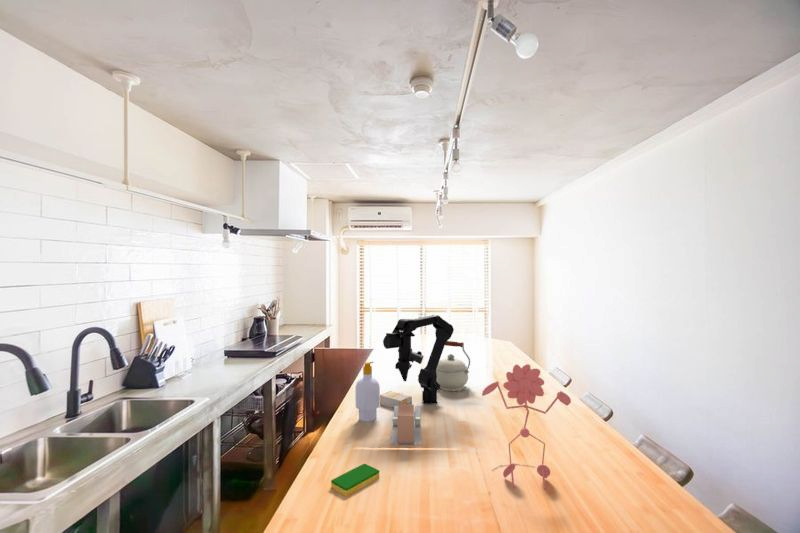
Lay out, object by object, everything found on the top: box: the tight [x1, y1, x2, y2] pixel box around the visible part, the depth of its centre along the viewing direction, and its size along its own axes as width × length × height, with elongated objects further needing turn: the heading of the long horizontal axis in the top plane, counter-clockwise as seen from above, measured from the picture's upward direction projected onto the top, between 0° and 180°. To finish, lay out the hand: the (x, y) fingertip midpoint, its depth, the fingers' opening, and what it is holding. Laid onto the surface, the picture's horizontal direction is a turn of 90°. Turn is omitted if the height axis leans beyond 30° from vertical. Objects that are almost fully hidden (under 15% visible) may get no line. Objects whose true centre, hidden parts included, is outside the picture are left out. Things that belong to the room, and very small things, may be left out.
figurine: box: [481, 363, 572, 490], centre depth 124 cm, size 15×26×35 cm, turn 84°
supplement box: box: [380, 390, 413, 409], centre depth 187 cm, size 8×5×13 cm
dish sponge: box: [330, 463, 380, 496], centre depth 121 cm, size 7×14×2 cm, turn 138°
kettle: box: [436, 340, 471, 392], centre depth 216 cm, size 25×18×25 cm
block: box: [398, 404, 415, 443], centre depth 152 cm, size 6×12×10 cm, turn 178°
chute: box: [390, 405, 423, 446], centre depth 162 cm, size 11×34×3 cm, turn 178°
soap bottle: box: [355, 361, 381, 422], centre depth 171 cm, size 10×10×24 cm
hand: (405, 381), depth 183 cm, fingers closed
